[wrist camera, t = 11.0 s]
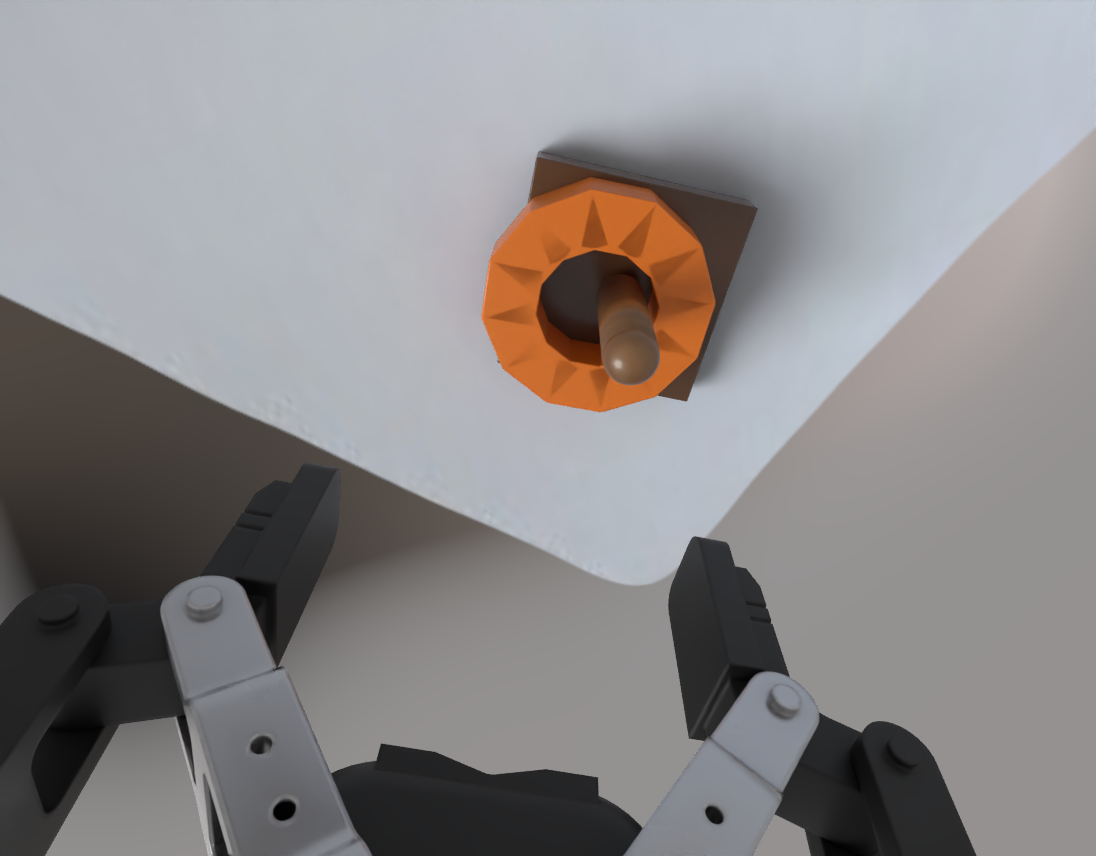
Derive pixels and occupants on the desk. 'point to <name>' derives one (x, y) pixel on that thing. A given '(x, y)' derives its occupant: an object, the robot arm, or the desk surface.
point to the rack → (636, 274)
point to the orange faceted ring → (576, 228)
